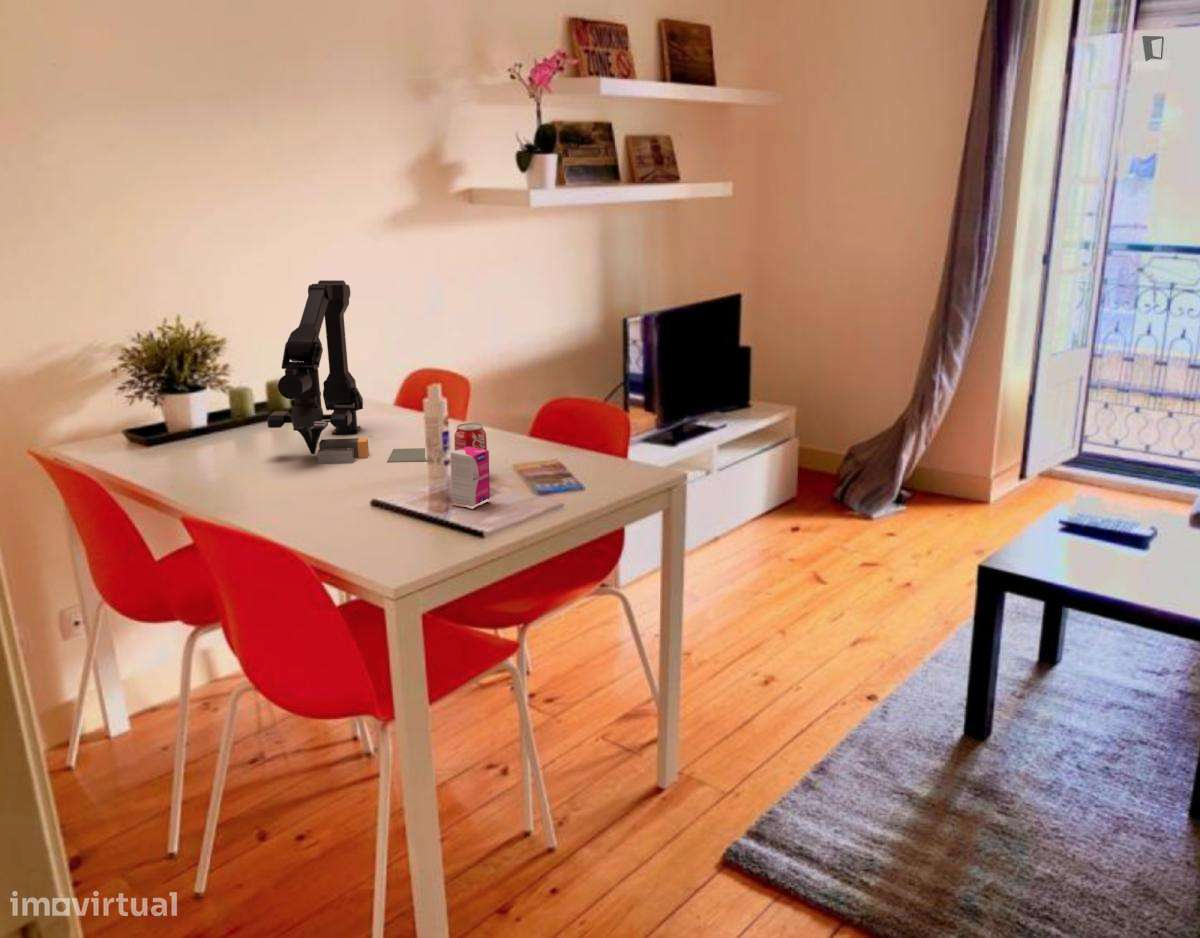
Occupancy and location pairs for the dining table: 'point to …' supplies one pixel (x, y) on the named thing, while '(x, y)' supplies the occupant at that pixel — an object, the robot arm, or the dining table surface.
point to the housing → (335, 455)
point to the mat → (407, 455)
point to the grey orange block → (348, 445)
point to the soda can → (470, 436)
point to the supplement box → (470, 476)
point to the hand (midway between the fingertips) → (313, 453)
